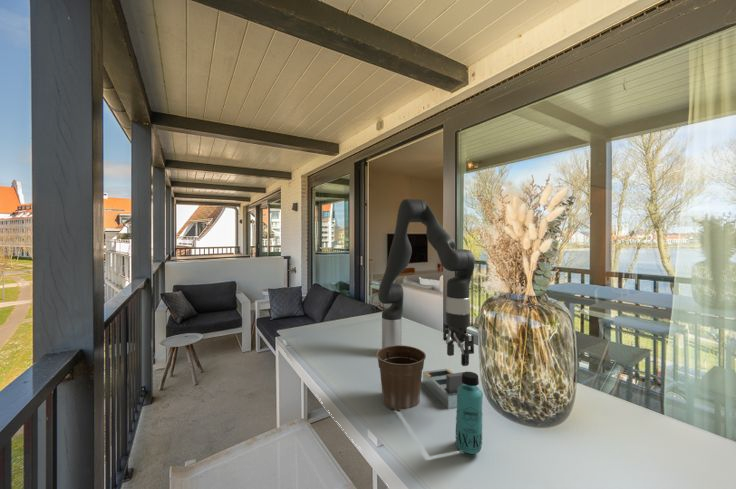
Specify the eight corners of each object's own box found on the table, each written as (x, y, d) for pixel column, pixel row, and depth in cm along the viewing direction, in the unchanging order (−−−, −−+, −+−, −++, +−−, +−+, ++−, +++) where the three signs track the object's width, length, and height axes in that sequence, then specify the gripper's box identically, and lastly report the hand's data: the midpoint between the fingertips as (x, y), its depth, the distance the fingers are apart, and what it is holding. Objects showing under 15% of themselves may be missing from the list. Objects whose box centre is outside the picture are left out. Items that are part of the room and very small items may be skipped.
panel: (446, 401, 99) (446, 374, 99) (464, 398, 101) (464, 371, 101) (449, 404, 97) (449, 377, 97) (467, 401, 99) (468, 374, 99)
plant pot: (392, 421, 90) (393, 367, 89) (367, 396, 104) (367, 349, 104) (435, 407, 97) (436, 358, 97) (406, 385, 111) (407, 342, 111)
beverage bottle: (451, 443, 80) (452, 368, 80) (475, 442, 81) (476, 367, 80) (461, 461, 74) (462, 380, 73) (487, 459, 74) (488, 379, 74)
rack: (422, 385, 112) (423, 370, 112) (446, 381, 115) (446, 368, 115) (448, 412, 95) (448, 395, 95) (475, 407, 97) (475, 391, 97)
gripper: (436, 306, 104) (436, 353, 104) (459, 316, 90) (459, 370, 91) (456, 305, 106) (455, 351, 106) (481, 315, 92) (481, 367, 93)
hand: (457, 360), depth 99 cm, fingers open, 8 cm apart
